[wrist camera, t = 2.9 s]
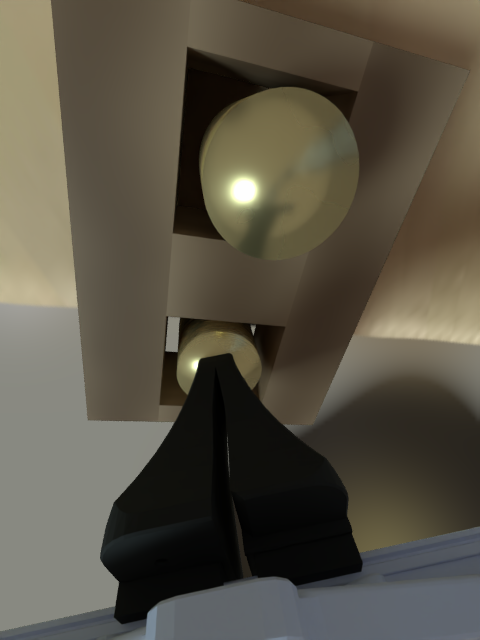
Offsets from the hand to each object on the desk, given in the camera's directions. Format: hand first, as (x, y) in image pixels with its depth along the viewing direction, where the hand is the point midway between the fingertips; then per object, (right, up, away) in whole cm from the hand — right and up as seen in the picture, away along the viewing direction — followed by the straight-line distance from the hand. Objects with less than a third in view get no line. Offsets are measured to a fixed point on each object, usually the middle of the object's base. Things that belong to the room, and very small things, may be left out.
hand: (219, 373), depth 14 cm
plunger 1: (0, +2, +3) cm, 4 cm away
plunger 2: (+1, +7, -3) cm, 8 cm away
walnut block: (0, +6, +2) cm, 6 cm away
